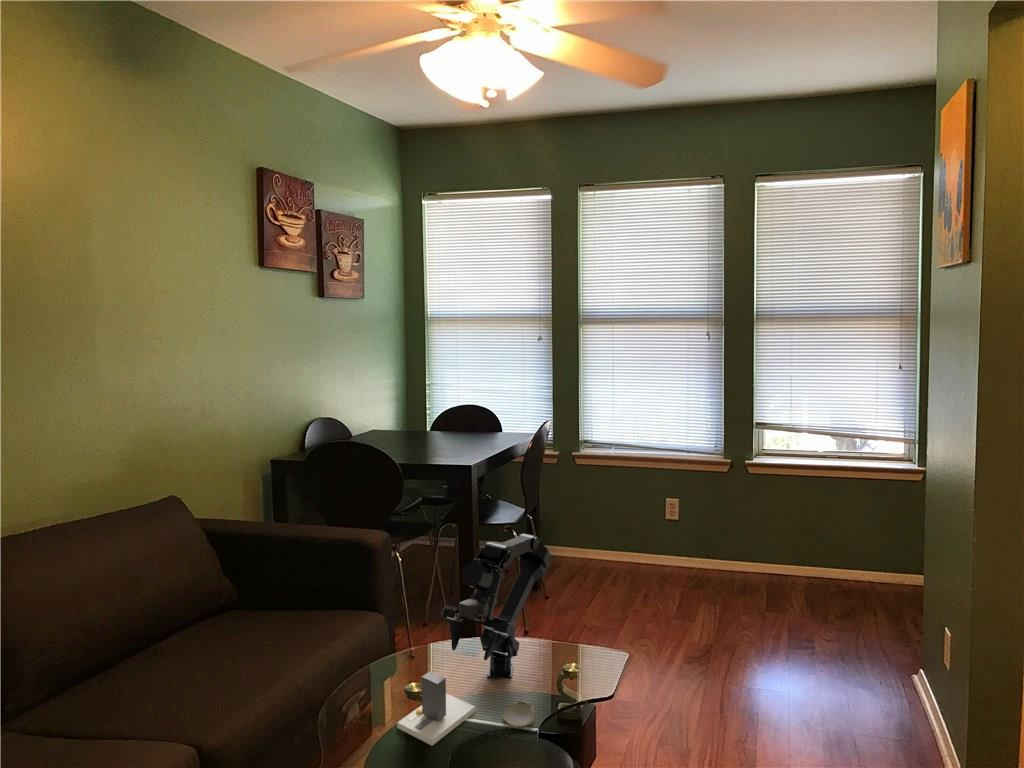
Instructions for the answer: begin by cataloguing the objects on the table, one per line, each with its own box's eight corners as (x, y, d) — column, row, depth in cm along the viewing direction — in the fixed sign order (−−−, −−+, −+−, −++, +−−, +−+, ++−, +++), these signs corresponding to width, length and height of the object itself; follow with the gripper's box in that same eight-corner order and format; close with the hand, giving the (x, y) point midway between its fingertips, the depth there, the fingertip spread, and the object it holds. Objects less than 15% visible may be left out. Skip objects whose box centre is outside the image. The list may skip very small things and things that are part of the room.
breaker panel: (441, 696, 207) (441, 689, 207) (475, 711, 201) (475, 704, 200) (397, 728, 194) (397, 720, 194) (432, 745, 188) (432, 738, 188)
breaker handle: (430, 707, 199) (429, 671, 197) (446, 715, 196) (445, 678, 194) (422, 713, 197) (421, 676, 194) (437, 721, 194) (437, 683, 192)
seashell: (499, 728, 198) (525, 734, 193) (495, 718, 197) (521, 723, 192) (518, 707, 204) (543, 712, 199) (515, 697, 203) (540, 701, 198)
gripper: (440, 579, 203) (422, 642, 199) (505, 596, 195) (488, 662, 190) (460, 586, 213) (443, 646, 208) (523, 602, 204) (507, 666, 200)
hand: (469, 655), depth 201 cm, fingers open, 9 cm apart
